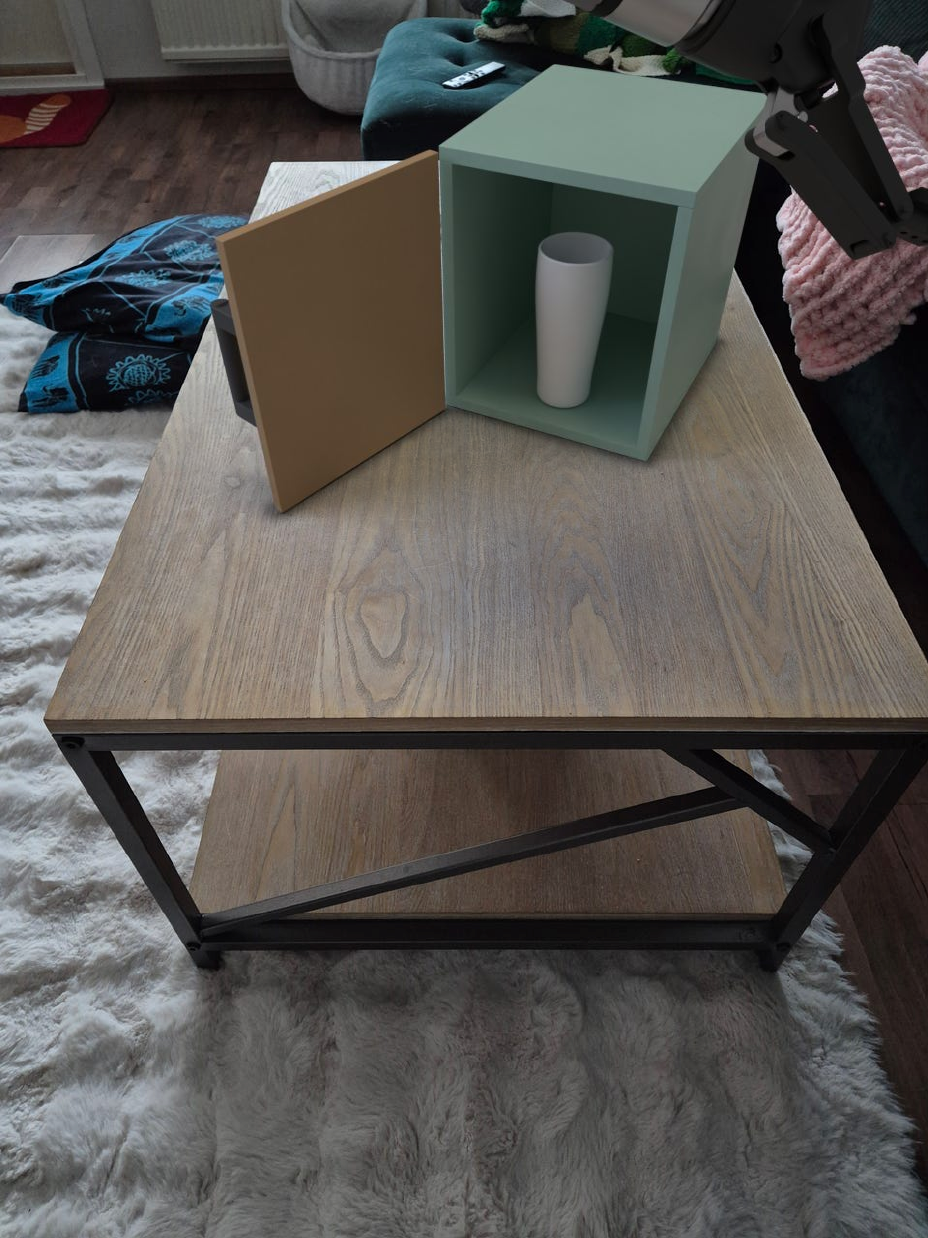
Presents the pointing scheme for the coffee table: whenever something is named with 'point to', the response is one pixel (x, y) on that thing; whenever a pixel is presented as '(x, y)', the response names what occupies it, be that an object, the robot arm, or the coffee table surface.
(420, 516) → the coffee table surface
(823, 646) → the coffee table surface
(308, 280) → the fridge door
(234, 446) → the coffee table surface
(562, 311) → the drinking glass
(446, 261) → the box
